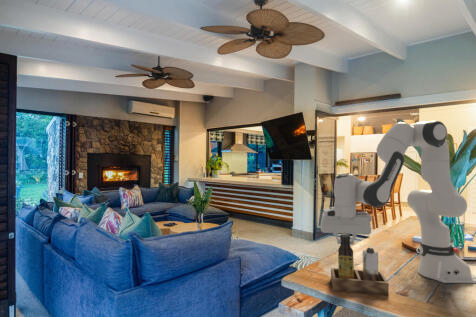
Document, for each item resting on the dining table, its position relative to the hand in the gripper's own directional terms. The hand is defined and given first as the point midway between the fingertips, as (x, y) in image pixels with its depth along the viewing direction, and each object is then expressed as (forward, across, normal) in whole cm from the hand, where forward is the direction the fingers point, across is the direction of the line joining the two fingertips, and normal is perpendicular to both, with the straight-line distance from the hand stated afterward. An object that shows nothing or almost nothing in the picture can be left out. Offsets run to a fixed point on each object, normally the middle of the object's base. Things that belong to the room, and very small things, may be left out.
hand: (345, 243), depth 126 cm
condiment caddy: (+18, -5, 0) cm, 19 cm away
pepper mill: (+18, -10, 0) cm, 20 cm away
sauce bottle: (+16, 0, -1) cm, 16 cm away
